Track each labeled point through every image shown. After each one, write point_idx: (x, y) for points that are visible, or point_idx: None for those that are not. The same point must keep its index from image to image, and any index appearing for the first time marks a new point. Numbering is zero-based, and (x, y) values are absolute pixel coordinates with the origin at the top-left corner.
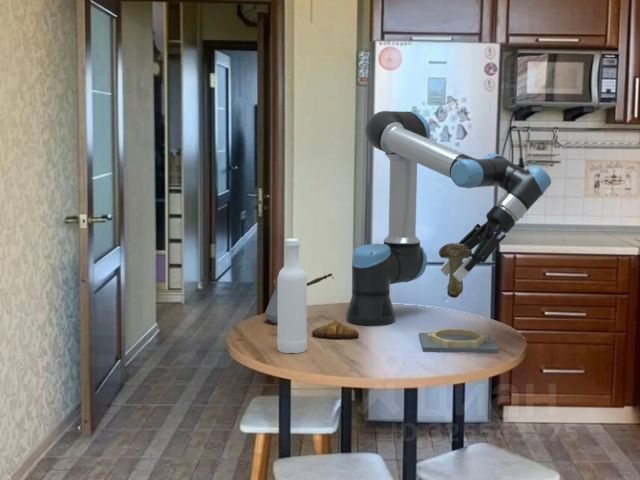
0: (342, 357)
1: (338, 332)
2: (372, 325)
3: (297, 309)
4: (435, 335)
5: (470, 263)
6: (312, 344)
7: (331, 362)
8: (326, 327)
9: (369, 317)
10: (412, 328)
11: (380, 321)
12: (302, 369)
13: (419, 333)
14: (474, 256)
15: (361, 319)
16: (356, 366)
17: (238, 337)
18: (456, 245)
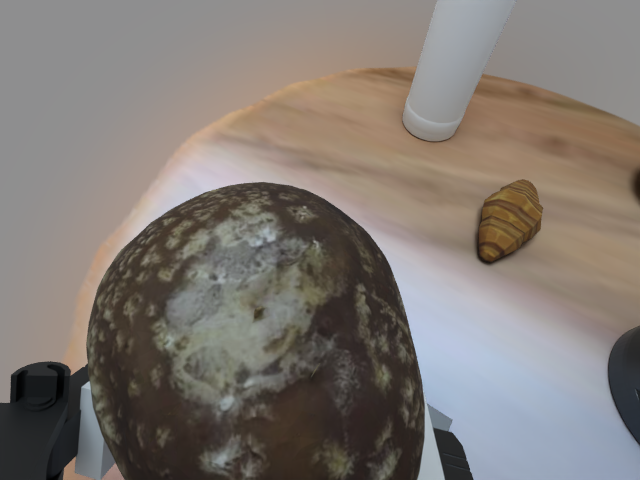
0: (343, 163)
1: (485, 207)
2: (609, 363)
3: (426, 38)
4: None
5: (78, 372)
6: (455, 163)
7: (322, 136)
8: (511, 188)
9: (630, 349)
10: (561, 474)
11: (620, 386)
12: (309, 91)
13: (442, 414)
14: (17, 398)
15: (632, 332)
16: (276, 155)
17: (541, 95)
18: (163, 235)
